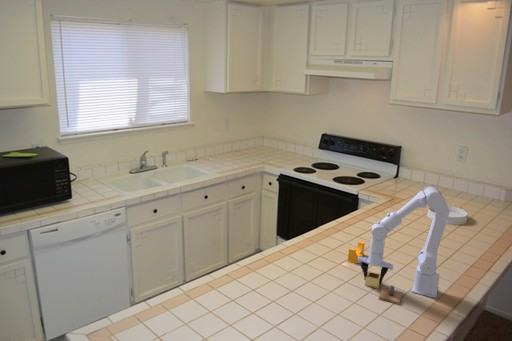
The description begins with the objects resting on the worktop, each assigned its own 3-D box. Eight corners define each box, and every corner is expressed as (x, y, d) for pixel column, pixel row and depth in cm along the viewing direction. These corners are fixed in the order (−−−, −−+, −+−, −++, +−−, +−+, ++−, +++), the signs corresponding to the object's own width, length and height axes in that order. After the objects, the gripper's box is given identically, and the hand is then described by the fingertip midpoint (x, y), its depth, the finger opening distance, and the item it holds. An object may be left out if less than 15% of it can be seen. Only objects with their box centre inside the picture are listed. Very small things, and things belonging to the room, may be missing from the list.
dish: (432, 209, 281) (433, 202, 280) (469, 217, 269) (470, 210, 267) (422, 219, 263) (424, 211, 262) (462, 228, 251) (463, 220, 250)
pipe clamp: (356, 264, 202) (357, 251, 200) (347, 261, 204) (349, 249, 203) (366, 255, 211) (368, 243, 210) (358, 253, 214) (359, 241, 212)
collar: (380, 282, 186) (381, 274, 185) (378, 288, 181) (379, 280, 180) (367, 279, 188) (368, 271, 187) (364, 285, 183) (365, 276, 182)
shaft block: (402, 295, 177) (403, 285, 175) (399, 304, 170) (400, 294, 168) (382, 289, 180) (383, 280, 179) (378, 299, 173) (379, 289, 172)
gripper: (396, 251, 181) (392, 281, 185) (361, 244, 187) (358, 272, 191) (393, 258, 175) (389, 288, 178) (357, 250, 181) (354, 279, 184)
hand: (373, 281), depth 184 cm, fingers closed on collar, 6 cm apart
